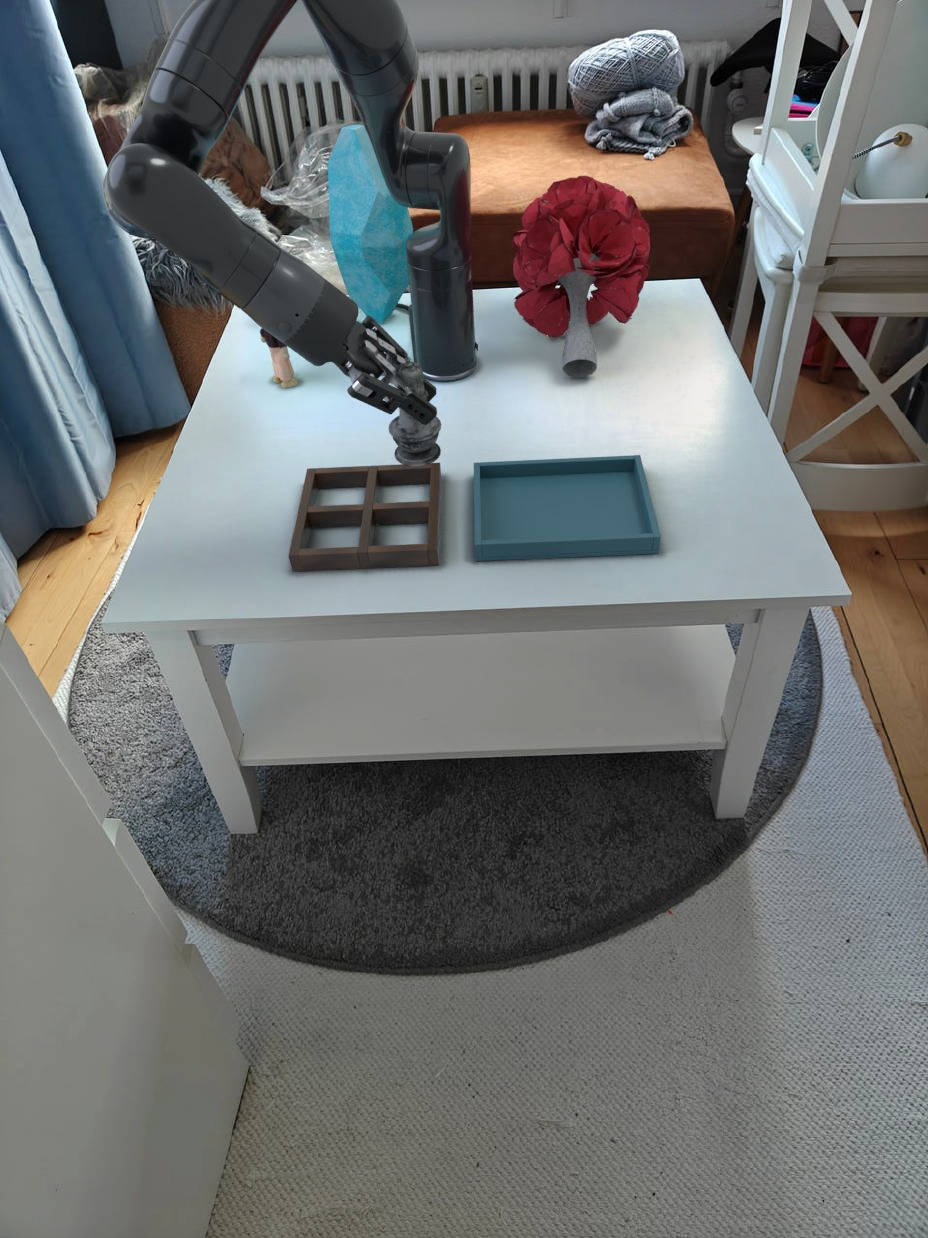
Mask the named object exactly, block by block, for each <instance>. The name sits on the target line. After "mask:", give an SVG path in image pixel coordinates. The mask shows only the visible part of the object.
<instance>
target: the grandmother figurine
mask: <svg viewBox="0 0 928 1238" xmlns="http://www.w3.org/2000/svg"><path fill="white" fill-rule="evenodd" d="M259 335H260V342H261V343H263V344H266V345H267V347H268V349H269V352H270V358H271V362H272V367H273V373H274V376H273V379H272V381H273V383H274V384H280V387H281V388H283V389H289V388H294V387H296V386H298V385H299V383H300V382H299V380H298V379H297V378H295V377H293V376H294V374H295V370H294V367H293V365H292V362H291V359H290V358H291V355H290V354H289V349H288V346H286V345H285V344H283V343H282V342H281V341H279V340H278V339H277V338H275V337H274V336H272V335H271V334H270V333H268V332H267V331H265V330H264V329H263V328H261V327H260V330H259Z"/></svg>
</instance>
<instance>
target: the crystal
mask: <svg viewBox="0 0 928 1238" xmlns="http://www.w3.org/2000/svg"><path fill="white" fill-rule="evenodd" d="M327 181H328V207H329V208H328V209H329V214H328V215H329V216H328V217H329V235H330V237H329V238H330V245H331V248H332V252H333V254H334V257H335V261H336V263H337V267H338V270H339V273H340V276H341V278H342V281H343V284H344V287H345V289H346V292H347V296H348V297H349V298H350V297H351V298H350V299H351V300H353V301H354V302H355V303H356V304H357V305H358V309H359V310H361V312H363V314H364V315H365V317H367V315H369V316H371V317H373V318H374V320H375V321H376V322H377V323H378V324H383V323H384V322H386V321H387V320H388V319H390V318H391V317H392V315H393V313H394V311H395V309H396V308H395V307H396V306H397V304H398V303H399V302H400V300H401V299H402V296H403V295H404V293H405V292H406V291H407V289H408V287H410V285H409V276H408V266H407V257H406V241H407V238H408V237H409V236H410V235H411V234H412V233H413V232H414V227H413V222H412V219H411V214H410V211H409V208H408V207H404V206H401V205H400V204H398V203H397V202H396V201H395V200H394V199H393V198H392V196H391V194H390V193H389V191H388V188H387V186H386V184H385V181H384V178H383V176H382V173H381V170H380V167H379V164H378V161H377V158H376V156H375V153H374V150H373V147H372V145H371V142H370V139H369V137H368V135H367V132H366V130H365V128H364V125H363V124H352V125H348V126H344V127H341V129H340V132H339V134H338V137H337V140H336V141H335V145H334V147H333V148H332V150H331V153H330V156H329V158H328V161H327Z"/></svg>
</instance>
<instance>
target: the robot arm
mask: <svg viewBox="0 0 928 1238" xmlns="http://www.w3.org/2000/svg"><path fill="white" fill-rule="evenodd" d="M301 2H302V4H303V6H304V8H305V10H306V12H307V15H308V16H309V18H310V19H311V22H312V24H313V25H314V28H315V29H316V31H317V33H318V35H319V37H320V40H321V41H322V43H323V46H324V48H325V50H326V52H327V55H328V58H329V59H330V61H331V64H332V65H333V68H334V69H335V71H336V74H337V76H338V77H339V80H340V81H341V84H342V85H343V87H344V89H345V90H346V93H347V94H348V96H349V99H350V100H351V101H352V104H353V106H354V109H355V110H356V112H357V115H358V117H359V119H360V121H361V123H362V125H364V128H365V130H366V132H367V135H368V137H369V139H370V142H371V145H372V147H373V150H374V153H375V156H376V158H377V161H378V164H379V167H380V170H381V173H382V176H383V178H384V181H385V184H386V186H387V188H388V191H389V193H390V194H391V196H392V198H393V199H394V200H395V201H396V202H397V203H398V204H400V205H401V206H404V207H408V209H417V210H429V211H430V210H431V211H439V212H440V213H439V215H440V219H439V221H437V222H435V223H432V224H429V225H426V226H423V227H421V228H418V229H416V230H415V231H413V233H412V234H411V235H410V236H409V237H408V238H407V241H406V257H407V266H408V276H409V293H410V295H409V296H410V305H407V304H403V303H399V302H398V304H397V306H396V307H395V309H402V310H405V311H407V312H408V319H409V320H408V321H409V330H410V340H411V350H412V359H413V362H414V363H417V364H418V365H420V367H421V368H422V371H423V379H424V389H425V390H426V391H427V392H428V394H429V395H428V398H427V400H425V399H424V398H423V397H422V396H420V395H419V394H418V393H416V392H415V391H414V390H411V389H410V388H409V387H408V386H407V385H406V384H405V383H404V382H403V381H402V380H401V379H400V378H399V377H398V376H397V370H396V369H397V368H398V366H399V365H401V364H402V363H405V362H406V361H405V359H406V357H407V356H408V357H409V354H408V352H407V351H406V350H405V349H404V348H403V346H401V345H400V344H399V343H398V342H397V341H396V340H395V339H394V338H393V337H392V336H391V334H390V333H388V331H386V329H384V328H383V326H381V324H380V323H379V322H376V321H375V320H374V318H373V317H371V316H369V315H367V316H365V318H364V319H363V320H362V321H361V322H360V321H358V317H359V313H360V311H359V310H360V308H359V307H358V305H357V304H356V303H355V302H354V301H353V300H352V299H351V297H350V296H349V295H346V293H344V292H343V291H341V289H339V288H338V287H336V286H335V285H334V284H332V283H331V282H330V281H328V280H327V279H326V278H325V277H323V276H322V275H321V274H319V273H318V271H316V270H314V269H313V268H312V267H311V266H309V265H308V264H307V263H305V262H304V261H303V260H301V259H300V258H298V257H297V256H295V255H293V254H291V253H290V252H288V251H286V250H285V249H284V248H282V247H281V246H279V244H277V243H276V242H274V241H273V240H272V239H271V238H270V237H268V236H267V235H265V234H264V233H263V231H261V230H260V229H257V228H256V227H255V226H254V225H252V223H250V222H248V221H247V220H245V219H244V218H243V217H241V216H240V215H239V214H238V213H236V212H235V211H234V210H233V209H232V208H231V206H230V205H229V204H227V202H225V201H226V200H224V199H223V198H222V197H221V196H220V195H219V194H218V193H217V192H216V191H215V190H214V189H213V188H212V187H211V186H210V185H209V184H208V183H207V182H206V181H205V180H204V179H203V178H202V177H201V176H200V172H201V171H202V168H203V165H204V163H205V161H206V159H207V157H208V154H209V153H210V152H211V151H212V149H213V148H214V146H215V145H216V144H217V142H218V141H219V139H220V138H221V136H222V135H223V133H224V132H225V129H226V128H227V126H228V124H229V121H230V120H231V118H232V116H233V113H234V111H235V109H236V108H237V105H238V103H239V101H240V99H241V97H242V94H243V92H244V90H245V88H246V86H247V84H248V81H249V80H250V78H251V75H252V73H253V71H254V69H255V67H256V66H257V64H258V62H259V60H260V58H261V56H262V55H263V53H264V51H265V49H266V48H267V46H268V44H269V43H270V41H271V39H272V38H273V36H274V35H275V34H276V32H277V30H278V29H279V28H280V26H281V24H282V23H283V22H284V20H285V19H286V17H287V16H288V15H289V13H290V11H291V10H292V9H293V7H294V6H295V5H296V3H298V0H193V1H192V2H191V3H190V4H189V5H188V7H186V9H185V11H184V12H183V13H182V14H181V16H180V18H179V19H178V20H177V21H176V23H175V26H174V28H173V29H172V31H171V32H170V35H169V37H168V39H167V42H166V44H165V46H164V48H163V50H162V52H161V55H160V57H159V58H158V61H157V62H156V65H155V68H154V70H153V72H152V74H151V76H150V79H149V81H148V84H147V87H146V90H145V94H144V96H143V101H142V104H141V107H140V109H139V111H138V114H137V116H136V117H135V119H134V120H133V122H132V124H131V126H130V128H129V130H128V132H127V134H126V136H125V138H124V140H123V141H122V144H121V145H120V147H119V149H118V151H117V152H116V153H115V154H114V155H113V157H112V159H110V162H109V165H108V166H107V170H106V174H105V176H104V179H103V184H102V196H103V203H104V204H105V205H104V206H105V208H106V211H107V213H108V214H109V216H110V218H111V219H112V221H113V222H114V223H115V224H116V225H117V226H118V227H119V228H120V229H122V230H123V231H124V232H125V233H127V234H128V235H131V236H133V237H136V238H138V239H139V238H140V239H148V240H151V239H152V240H155V241H156V242H158V243H159V244H160V245H162V246H163V247H165V248H166V249H167V250H169V251H170V252H171V253H173V254H174V255H176V256H177V257H178V258H180V259H181V260H182V261H184V262H185V263H187V264H188V265H189V266H190V267H191V268H192V269H193V271H194V273H195V274H196V276H197V277H198V278H199V279H200V280H201V281H202V282H203V283H204V284H205V285H206V286H208V287H209V288H211V289H212V290H213V291H214V292H216V293H217V294H219V295H220V296H221V297H222V298H224V299H225V300H227V301H228V302H230V303H231V304H233V305H234V306H235V307H237V308H238V309H239V310H241V311H242V313H244V314H246V315H247V316H248V317H249V318H250V319H251V320H252V321H253V322H254V323H255V324H256V325H258V326H259V327H260V329H261V328H263V329H264V330H265V331H267V332H268V333H270V334H271V335H272V336H274V337H275V338H277V339H278V340H279V341H281V342H282V343H283V344H285V345H286V346H287V348H289V349H290V350H292V351H293V352H295V353H296V354H297V355H299V356H300V357H301V358H303V359H304V360H306V361H307V362H309V363H310V365H313V366H315V367H322V366H325V364H327V363H333V364H334V365H335V366H336V368H338V369H339V370H340V371H341V372H342V373H343V374H344V375H345V376H346V377H348V378H349V379H350V383H351V385H350V386H349V387H348V388H347V390H346V391H347V394H348V395H349V396H350V397H351V398H353V399H355V400H357V401H360V402H361V403H364V404H366V405H368V406H370V407H373V408H375V409H377V410H379V411H381V412H384V413H386V414H388V415H393V414H394V413H395V412H396V410H398V409H399V408H401V409H402V410H404V411H405V412H406V413H408V414H409V415H410V416H412V417H413V418H415V419H416V420H417V421H419V422H420V423H421V424H423V425H427V424H429V423H430V422H431V421H432V420H433V419H434V418H435V417H437V415H438V409H437V407H436V406H435V405H434V404H433V403H431V401H432V400H433V398H434V397H435V396H437V387H436V386H435V385H433V384H432V383H431V382H430V381H429V380H432V381H438V382H450V381H456V380H460V379H464V378H465V377H468V376H469V375H471V374H472V373H474V371H475V370H476V369H477V367H478V360H477V352H479V344H478V343H477V341H476V330H475V329H476V328H475V308H474V307H475V306H474V291H473V271H472V269H473V268H472V248H471V247H472V246H471V244H472V243H471V241H472V198H471V197H472V164H471V162H472V161H471V154H470V153H471V152H470V148H469V146H468V143H467V141H466V139H465V137H464V136H462V135H461V134H458V133H451V132H436V131H435V132H432V131H416V130H415V131H414V130H412V129H410V128H409V127H408V126H407V125H406V122H405V121H404V118H403V116H404V114H405V111H406V109H407V106H408V104H409V103H410V100H411V98H412V96H413V92H414V90H415V88H416V85H417V82H418V76H419V70H420V69H419V67H420V65H419V63H420V62H419V61H420V59H419V53H418V50H417V47H416V44H415V41H414V38H413V35H412V33H411V30H410V26H409V25H408V21H407V18H406V16H405V13H404V12H403V9H402V7H401V4H400V3H399V1H398V0H301ZM380 377H382V378H381V379H379V378H380ZM427 379H428V380H427ZM391 384H392V385H391ZM397 388H398V389H397Z"/></svg>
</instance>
